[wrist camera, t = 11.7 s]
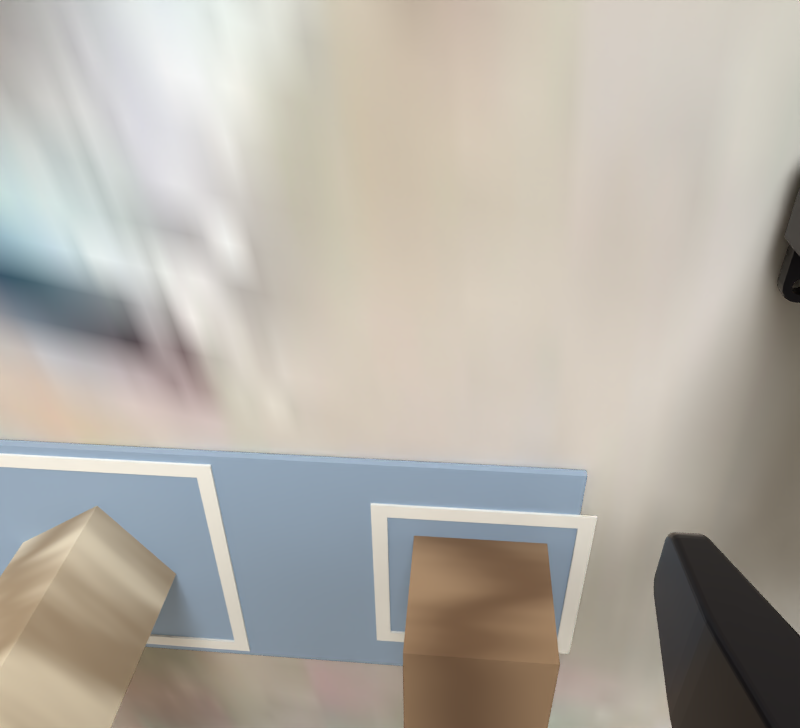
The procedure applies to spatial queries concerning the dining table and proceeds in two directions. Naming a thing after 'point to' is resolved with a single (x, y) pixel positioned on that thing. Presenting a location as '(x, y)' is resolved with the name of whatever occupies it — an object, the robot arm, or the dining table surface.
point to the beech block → (75, 622)
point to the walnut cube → (479, 635)
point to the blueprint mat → (294, 536)
